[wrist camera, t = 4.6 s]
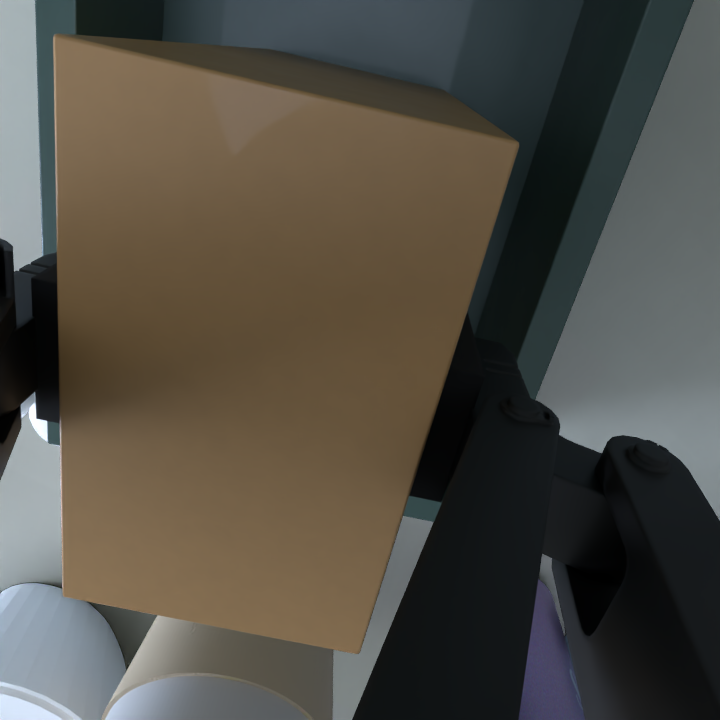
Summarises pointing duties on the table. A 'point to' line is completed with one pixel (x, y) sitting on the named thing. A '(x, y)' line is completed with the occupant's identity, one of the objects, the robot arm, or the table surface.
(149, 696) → the coffee cup
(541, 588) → the beverage can
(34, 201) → the table surface
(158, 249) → the packet
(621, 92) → the box
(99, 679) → the white letter sculpture
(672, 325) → the table surface
